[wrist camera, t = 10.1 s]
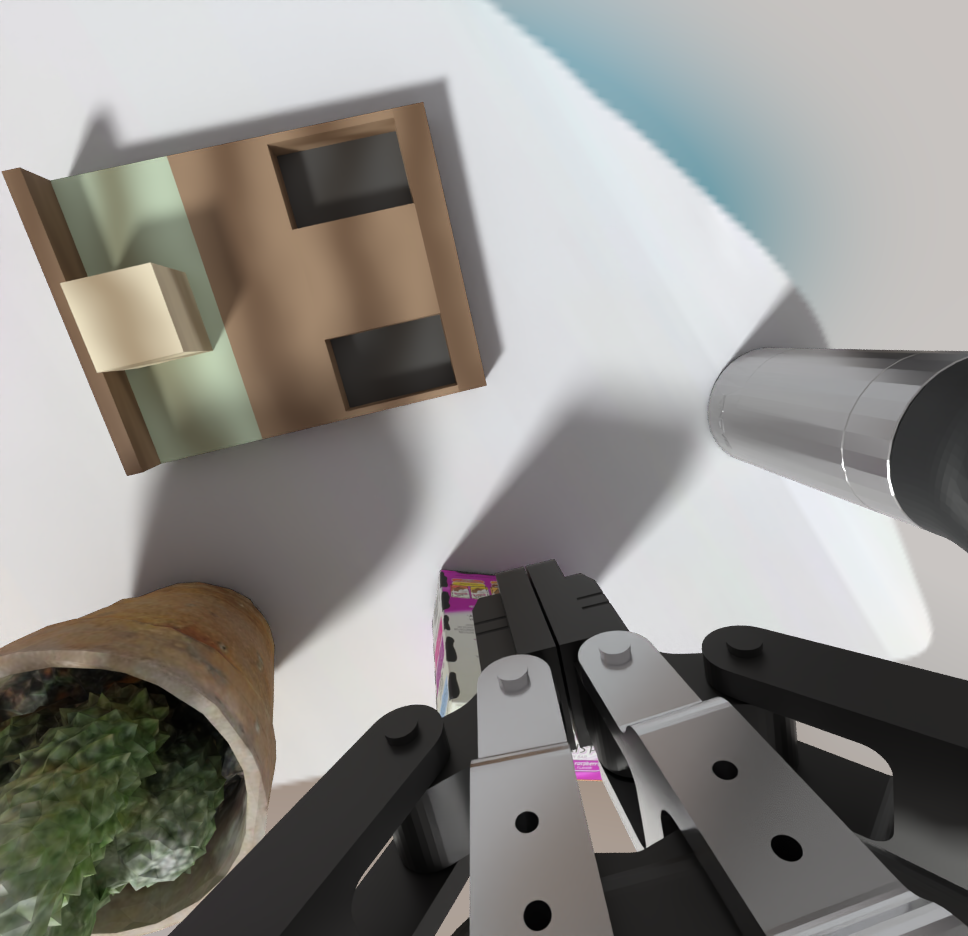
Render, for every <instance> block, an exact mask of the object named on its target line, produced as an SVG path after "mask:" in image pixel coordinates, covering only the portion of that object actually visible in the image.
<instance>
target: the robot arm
mask: <svg viewBox="0 0 968 936" xmlns="http://www.w3.org/2000/svg"><path fill="white" fill-rule="evenodd" d="M708 421H709V426H710V430H711V433H712V435H713V437H714V439H715V441H716V442H717V444H718V445H719V446H720V447H721V449H722V450H724V451H725V452H726V453H727V454H729V455H730V456H732V457H734V458H736V459H739V460H741V461H744V462H746V463H749V464H752V465H754V466H757V467H760V468H762V469H764V470H767V471H769V472H772V473H775V474H777V475H780V476H783V477H785V478H788V479H791V480H793V481H796V482H799V483H801V484H804V485H807V486H809V487H812V488H815V489H817V490H820V491H823V492H825V493H828V494H830V495H833V496H836V497H838V498H841V499H844V500H846V501H849V502H852V503H854V504H857V505H860V506H862V507H865V508H868V509H870V510H873V511H876V512H879V513H881V514H884V515H887V516H889V517H892V518H895V519H898V520H900V521H903V522H905V523H908V524H911V525H913V526H916V527H919V528H921V529H924V530H927V531H929V532H932V533H935V534H937V535H940V536H942V537H945V538H947V539H949V540H951V541H952V542H954V543H955V544H957V545H958V546H960V547H961V548H963V549H964V550H965V551H966V552H967V553H968V351H909V350H908V351H907V350H857V349H809V348H761V349H757V350H752V351H750V352H748V353H746V354H744V355H741V356H740V357H738V358H737V359H736V360H734V361H733V362H732V363H730V364H729V366H728V367H727V368H726V369H725V370H724V371H723V372H722V373H721V375H720V376H719V378H718V380H717V381H716V383H715V385H714V387H713V390H712V392H711V395H710V399H709V405H708ZM526 573H527V574H526ZM495 575H496V580H497V585H498V589H499V593H497V594H493V595H489V596H485V597H481V598H479V599H478V600H477V602H476V604H475V606H474V608H473V610H472V615H473V621H474V628H475V634H476V641H477V648H478V654H479V661H480V667H481V674H480V676H479V678H478V681H477V693H476V694H475V695H474V697H473V698H472V699H471V700H470V701H469V702H468V703H466V704H465V705H464V706H462V707H461V708H459V709H457V710H456V711H454V712H452V713H450V714H448V715H446V716H444V717H441V715H440V713H439V712H438V711H437V710H435V709H434V708H432V707H429V706H426V705H409V706H404V707H401V708H398V709H396V710H393V711H391V712H389V713H388V714H386V715H384V716H383V717H382V718H380V719H379V720H378V721H377V722H376V723H374V724H373V725H372V727H371V728H370V729H369V730H368V731H367V732H366V733H365V734H364V735H363V736H362V737H361V738H360V739H359V740H358V741H357V742H356V743H355V744H354V745H353V746H352V747H351V748H350V749H349V750H348V751H347V752H346V753H345V754H344V755H343V756H342V757H341V758H340V759H339V760H338V761H337V762H336V764H335V765H334V766H333V767H332V768H331V769H330V770H329V771H328V772H327V773H326V774H325V775H324V776H323V777H322V778H321V779H320V780H319V781H318V782H317V783H316V784H315V785H314V786H313V787H312V788H311V789H310V790H309V792H307V794H305V795H304V796H303V798H301V799H300V800H299V802H298V803H297V804H296V805H295V806H294V807H293V808H292V809H291V810H290V811H289V812H288V813H287V814H286V815H285V816H284V817H283V818H282V819H281V820H280V821H279V822H278V823H277V824H276V825H275V826H274V827H273V828H272V829H271V830H270V831H269V832H268V834H266V835H265V836H264V837H263V839H262V840H261V841H260V842H259V843H258V844H257V845H256V846H255V847H254V848H253V849H252V850H251V851H250V852H249V853H248V854H247V855H246V856H245V857H244V858H243V859H242V860H241V861H240V862H239V863H238V864H237V865H236V866H235V867H234V868H233V869H232V870H231V871H230V872H229V873H228V874H227V876H226V877H225V878H224V879H223V880H222V881H221V882H220V883H219V884H218V885H217V886H216V887H215V888H214V889H213V890H212V891H211V892H210V893H209V894H208V895H207V896H206V897H205V898H204V899H203V900H202V901H201V902H200V903H199V904H198V905H197V906H196V907H195V908H194V909H193V910H192V911H191V913H190V914H189V915H188V916H187V917H186V918H185V919H184V920H183V921H182V922H181V923H180V924H179V925H178V926H177V927H176V928H175V929H174V930H173V931H172V932H171V933H170V934H169V935H168V936H435V934H436V933H437V931H438V929H439V927H440V926H441V924H442V922H443V921H444V919H445V917H446V916H447V914H448V912H449V910H450V909H451V907H452V905H453V904H454V902H455V900H456V899H457V897H458V895H459V893H460V892H461V890H462V888H463V886H464V885H465V883H466V881H467V880H468V878H469V876H470V917H469V918H468V919H467V920H466V921H465V922H464V923H463V924H462V925H461V926H460V927H459V928H457V929H456V931H455V932H454V933H453V934H452V935H451V936H968V681H967V680H963V679H959V678H955V677H951V676H947V675H943V674H939V673H935V672H932V671H928V670H924V669H920V668H916V667H912V666H908V665H903V664H900V663H896V662H892V661H888V660H884V659H880V658H876V657H872V656H869V655H865V654H861V653H857V652H853V651H849V650H845V649H841V648H837V647H833V646H829V645H825V644H821V643H817V642H813V641H809V640H805V639H801V638H798V637H794V636H790V635H786V634H782V633H778V632H774V631H770V630H766V629H762V628H758V627H753V626H729V627H724V628H720V629H717V630H715V631H713V632H711V633H710V634H708V635H707V636H706V637H705V639H704V640H703V643H702V653H696V654H669V653H662V652H659V651H658V650H657V649H656V648H655V647H654V646H653V645H652V644H651V642H650V641H649V640H647V639H646V638H645V637H643V636H641V635H639V634H637V633H633V632H629V630H628V629H627V627H626V626H625V624H624V623H623V621H622V620H621V618H620V617H619V615H618V614H617V612H616V611H615V609H614V608H613V606H612V605H611V603H609V600H608V599H607V597H606V596H605V594H603V592H602V590H601V589H600V587H599V586H598V584H597V583H596V581H595V580H593V579H591V578H589V577H587V576H585V575H583V574H581V573H579V574H575V575H571V576H567V577H564V575H563V573H562V572H561V570H560V568H559V566H558V564H557V563H556V561H555V559H552V560H548V561H544V562H540V563H536V564H532V565H528V566H526V571H525V569H524V567H520V568H515V569H511V570H507V571H503V572H499V573H495ZM796 721H799V722H801V723H804V724H807V725H810V726H813V727H815V728H819V729H821V730H824V731H827V732H830V733H832V734H835V735H838V736H841V737H844V738H846V739H849V740H852V741H855V742H858V743H860V744H863V745H865V746H868V747H869V748H871V749H873V750H874V751H876V752H877V753H878V754H880V755H881V756H882V757H883V758H884V759H885V760H886V762H887V763H888V764H889V766H890V768H891V770H892V772H893V776H890V775H886V774H884V773H882V772H879V771H876V770H874V769H871V768H868V767H865V766H863V765H861V764H858V763H855V762H853V761H850V760H847V759H845V758H842V757H840V756H837V755H834V754H832V753H829V752H826V751H824V750H821V749H819V748H816V747H813V746H810V745H808V744H805V743H803V742H800V741H798V740H797V732H796ZM573 730H574V732H575V735H576V738H577V741H578V743H579V746H580V748H583V747H587V746H591V745H593V746H594V749H595V751H596V754H597V757H598V763H599V768H600V773H601V778H602V781H603V783H604V785H605V787H606V789H607V791H608V793H609V796H610V797H611V800H612V801H613V804H614V806H615V808H616V810H617V812H618V814H619V816H620V818H621V820H622V822H623V824H624V826H625V828H626V830H627V832H628V834H629V836H630V839H631V841H632V843H633V845H634V847H635V849H636V851H637V852H633V853H594V850H593V846H592V841H591V838H590V833H589V829H588V825H587V820H586V816H585V811H584V807H583V803H582V799H581V794H580V790H579V786H578V782H577V777H576V773H575V767H574V762H573V757H572V753H571V751H572V750H576V749H577V747H576V742H575V737H574V732H573ZM392 835H393V838H394V839H393V840H392V841H391V843H390V844H389V846H388V847H387V848H386V849H385V851H384V852H383V853H382V855H381V856H380V857H379V859H378V860H377V861H376V863H375V864H374V865H373V867H372V868H371V869H370V871H369V872H368V873H367V875H366V876H365V877H364V879H363V880H362V881H361V883H360V884H359V885H358V887H357V888H356V886H357V884H358V882H359V880H360V878H361V877H362V875H363V874H364V872H365V871H366V870H367V868H368V867H369V866H370V864H371V863H372V862H373V860H374V859H375V858H376V856H377V855H378V854H379V852H380V851H381V850H382V849H383V847H384V846H385V845H386V843H387V842H388V840H389V839H390V838H391V837H392Z"/></svg>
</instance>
